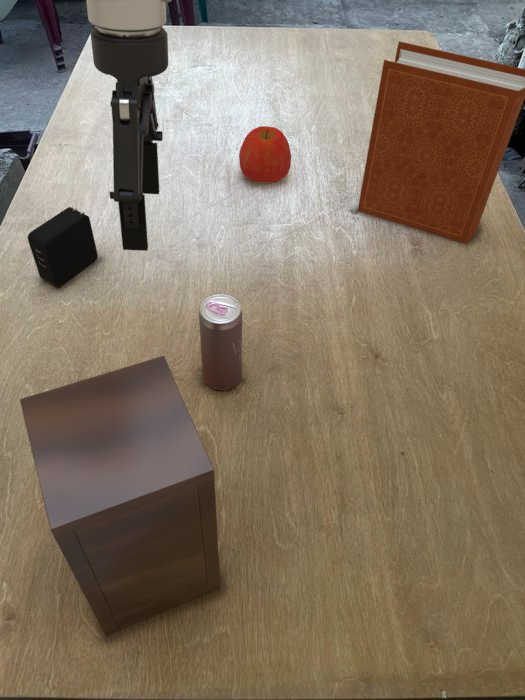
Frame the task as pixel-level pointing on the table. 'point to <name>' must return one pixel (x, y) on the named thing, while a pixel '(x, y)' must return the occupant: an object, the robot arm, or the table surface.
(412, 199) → the book
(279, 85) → the table surface
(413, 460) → the table surface
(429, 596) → the table surface
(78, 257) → the electronic device
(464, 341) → the table surface
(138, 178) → the robot arm
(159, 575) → the stand
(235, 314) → the beverage can
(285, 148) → the apple
